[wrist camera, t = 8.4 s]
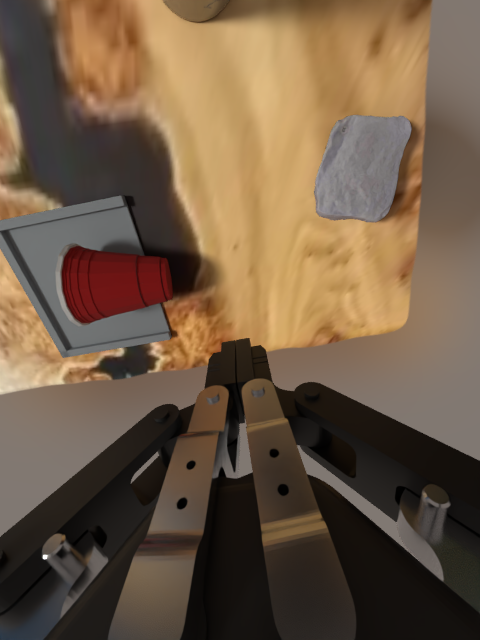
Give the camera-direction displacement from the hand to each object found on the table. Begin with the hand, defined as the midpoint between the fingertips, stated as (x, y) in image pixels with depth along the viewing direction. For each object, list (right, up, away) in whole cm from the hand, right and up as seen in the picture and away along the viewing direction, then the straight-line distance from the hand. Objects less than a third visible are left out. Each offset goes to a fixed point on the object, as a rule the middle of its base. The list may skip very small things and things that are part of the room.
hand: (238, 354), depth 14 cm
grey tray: (-23, +7, +26) cm, 35 cm away
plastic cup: (-10, +8, +21) cm, 25 cm away
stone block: (+15, +22, +21) cm, 33 cm away
